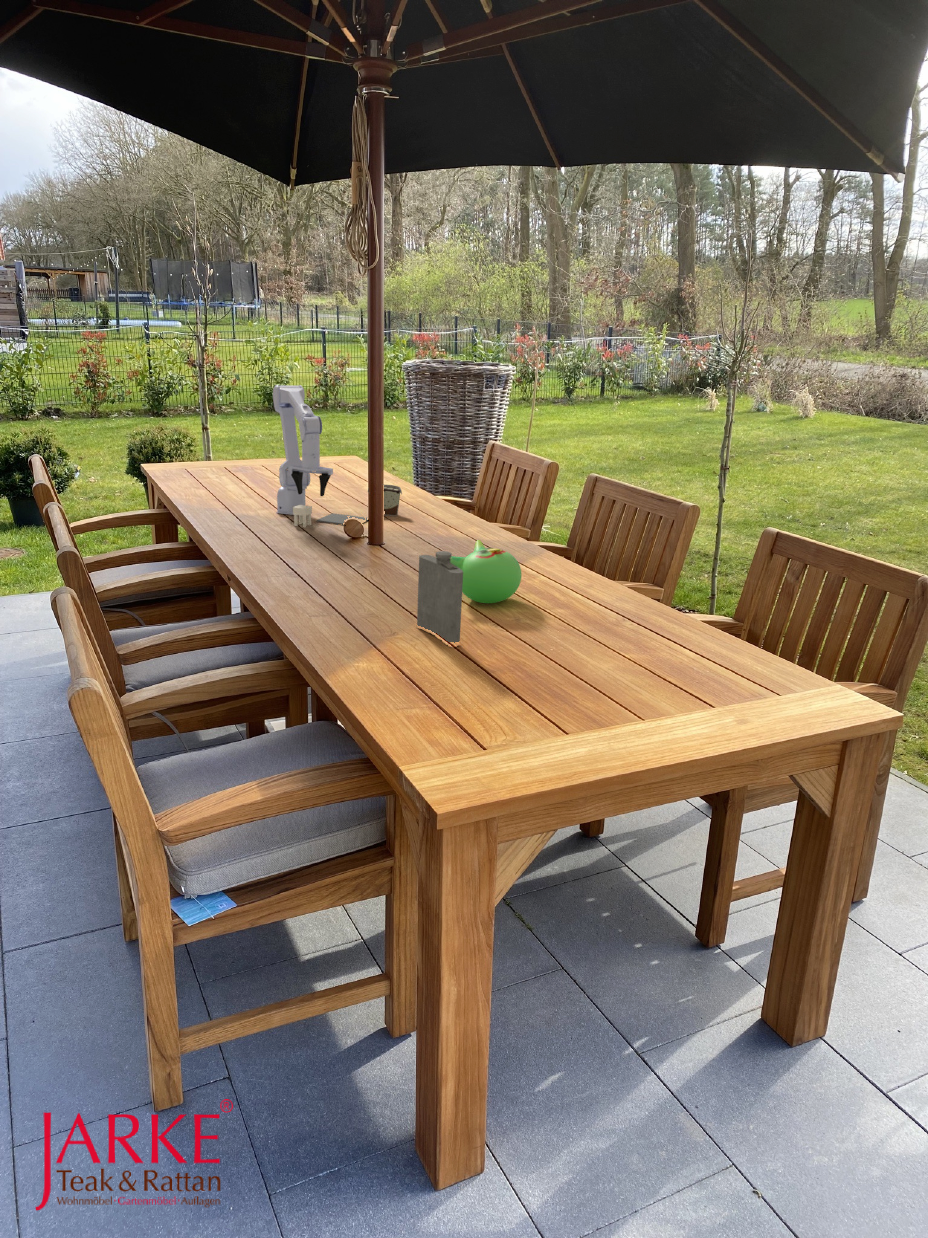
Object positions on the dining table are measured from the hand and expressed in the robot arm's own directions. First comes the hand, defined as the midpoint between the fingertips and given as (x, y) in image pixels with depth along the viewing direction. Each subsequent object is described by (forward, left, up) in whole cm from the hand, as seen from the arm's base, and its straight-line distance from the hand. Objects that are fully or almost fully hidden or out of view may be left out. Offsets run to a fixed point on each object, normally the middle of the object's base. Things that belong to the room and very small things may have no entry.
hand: (311, 494), depth 298 cm
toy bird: (+78, -51, -11) cm, 94 cm away
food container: (+15, +29, -11) cm, 34 cm away
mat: (+7, +11, -10) cm, 16 cm away
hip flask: (+76, -81, -11) cm, 111 cm away
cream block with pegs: (-2, -2, -10) cm, 11 cm away
